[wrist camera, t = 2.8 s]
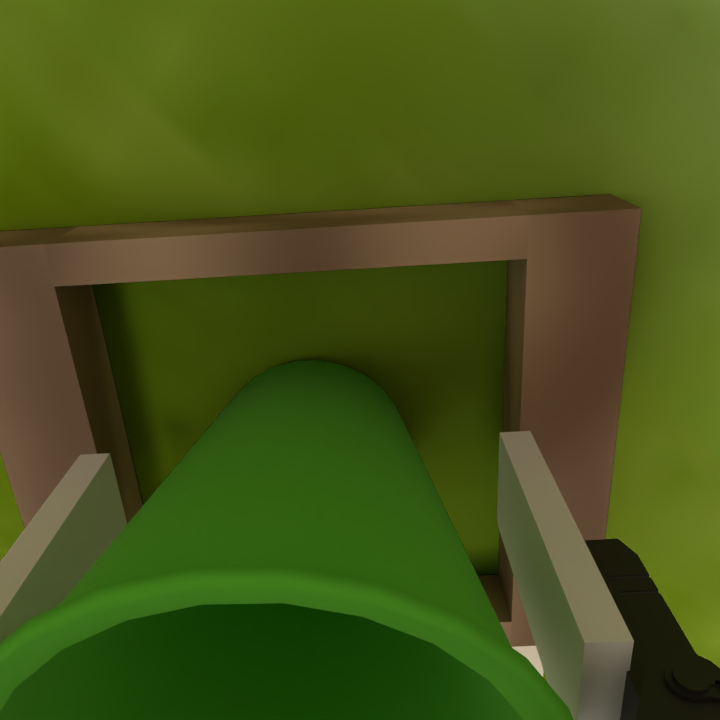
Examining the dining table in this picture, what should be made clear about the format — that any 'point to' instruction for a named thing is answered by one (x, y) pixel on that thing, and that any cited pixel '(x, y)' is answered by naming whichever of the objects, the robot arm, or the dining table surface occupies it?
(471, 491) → the dining table surface
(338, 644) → the cup
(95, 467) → the robot arm
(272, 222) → the board
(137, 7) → the dining table surface
